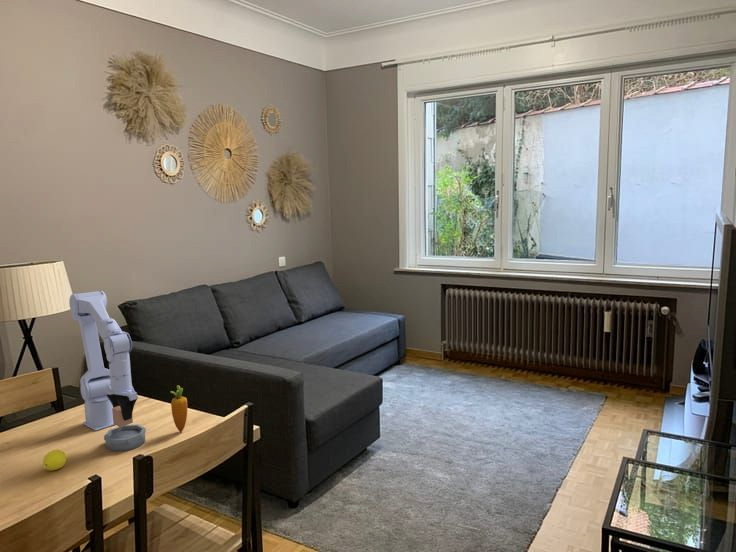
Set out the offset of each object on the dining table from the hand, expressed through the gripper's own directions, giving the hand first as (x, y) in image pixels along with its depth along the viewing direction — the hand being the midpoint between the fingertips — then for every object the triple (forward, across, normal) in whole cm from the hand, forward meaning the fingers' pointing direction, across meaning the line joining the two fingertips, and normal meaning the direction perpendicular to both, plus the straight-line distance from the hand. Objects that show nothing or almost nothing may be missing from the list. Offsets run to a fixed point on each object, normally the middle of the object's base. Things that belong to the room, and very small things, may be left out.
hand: (123, 417), depth 165 cm
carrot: (+8, +6, +15) cm, 18 cm away
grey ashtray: (+8, 0, 0) cm, 8 cm away
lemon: (+9, 0, -20) cm, 22 cm away
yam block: (+2, 0, 0) cm, 2 cm away
